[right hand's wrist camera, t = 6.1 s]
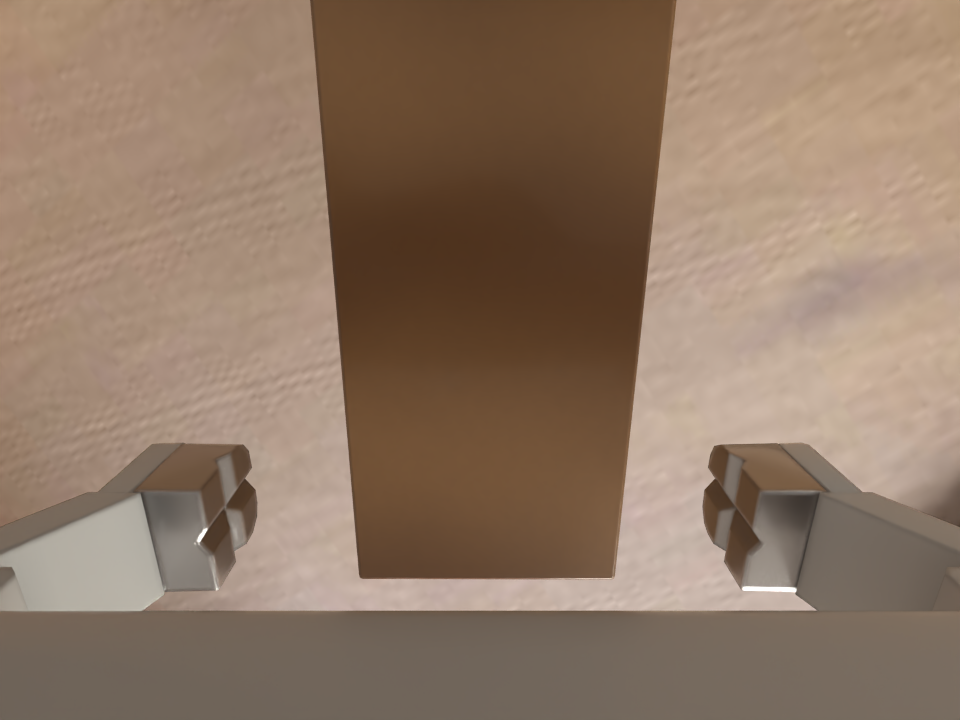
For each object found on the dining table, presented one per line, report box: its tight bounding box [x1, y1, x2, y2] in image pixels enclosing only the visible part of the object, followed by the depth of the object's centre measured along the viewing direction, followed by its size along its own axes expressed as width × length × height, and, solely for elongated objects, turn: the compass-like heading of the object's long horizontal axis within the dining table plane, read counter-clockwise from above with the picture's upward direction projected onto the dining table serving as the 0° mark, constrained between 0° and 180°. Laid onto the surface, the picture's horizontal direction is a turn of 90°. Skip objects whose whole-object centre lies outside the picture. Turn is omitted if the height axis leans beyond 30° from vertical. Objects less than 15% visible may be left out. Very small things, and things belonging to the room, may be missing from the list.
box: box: [310, 0, 676, 579], centre depth 14 cm, size 26×6×10 cm, turn 0°
